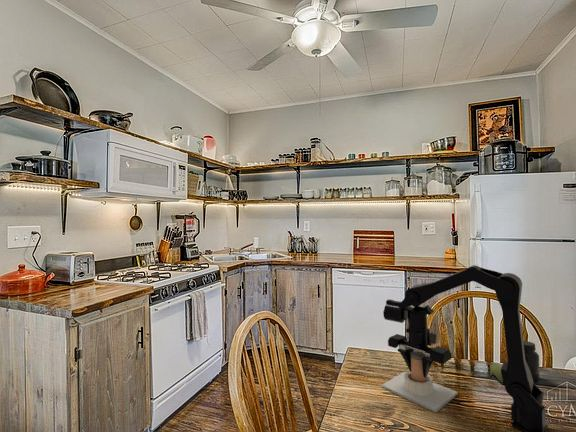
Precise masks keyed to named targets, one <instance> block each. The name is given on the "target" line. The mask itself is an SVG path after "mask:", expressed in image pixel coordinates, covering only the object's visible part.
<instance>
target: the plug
mask: <svg viewBox="0 0 576 432" xmlns="http://www.w3.org/2000/svg"><path fill="white" fill-rule="evenodd" d="M425 356H426V355H425V353H424V352H421V351H417V350H414V351H413V352H411V380H412V381H415V382H420V383H424V382H426V378H425V377H424V375H423V366H422V358H423V357H425Z"/></svg>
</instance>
